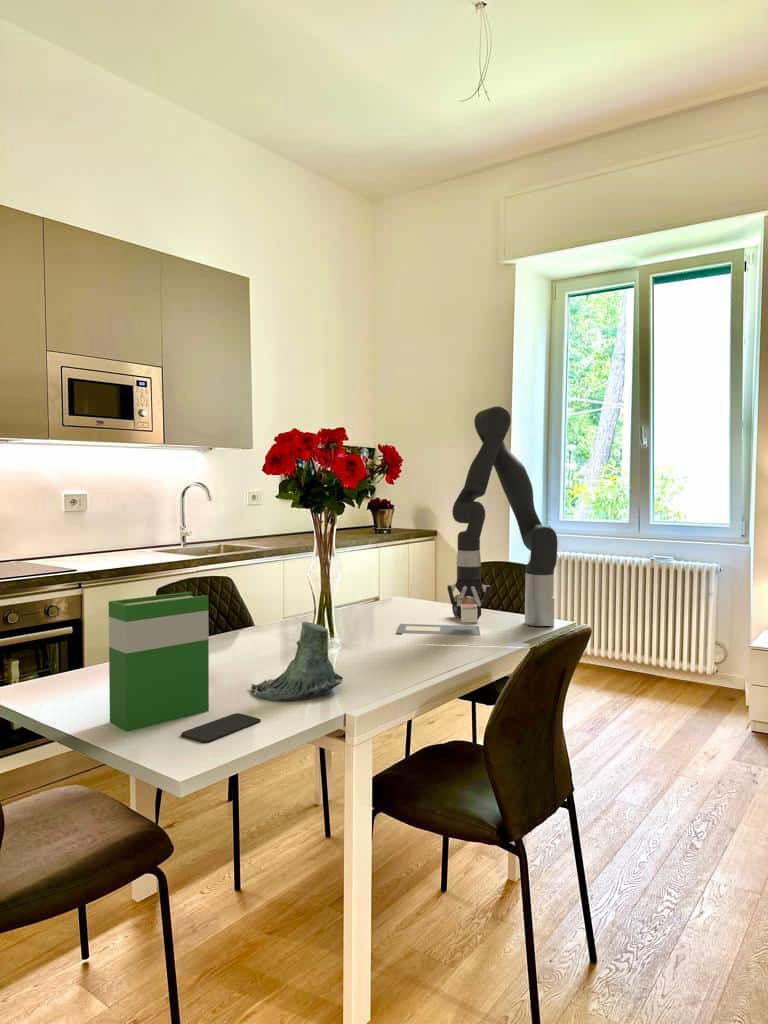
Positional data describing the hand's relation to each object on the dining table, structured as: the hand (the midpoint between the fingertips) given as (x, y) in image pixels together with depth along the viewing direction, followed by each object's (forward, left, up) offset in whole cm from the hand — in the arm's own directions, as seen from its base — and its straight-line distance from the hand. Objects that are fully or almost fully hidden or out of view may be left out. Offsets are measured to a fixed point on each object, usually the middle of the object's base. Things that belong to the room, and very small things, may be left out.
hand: (468, 617), depth 226 cm
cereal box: (+63, +90, -5) cm, 110 cm away
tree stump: (+40, +68, -5) cm, 79 cm away
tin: (+1, -19, -5) cm, 20 cm away
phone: (+49, +95, -5) cm, 107 cm away
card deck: (0, 0, -1) cm, 1 cm away
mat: (+10, 0, -5) cm, 11 cm away
